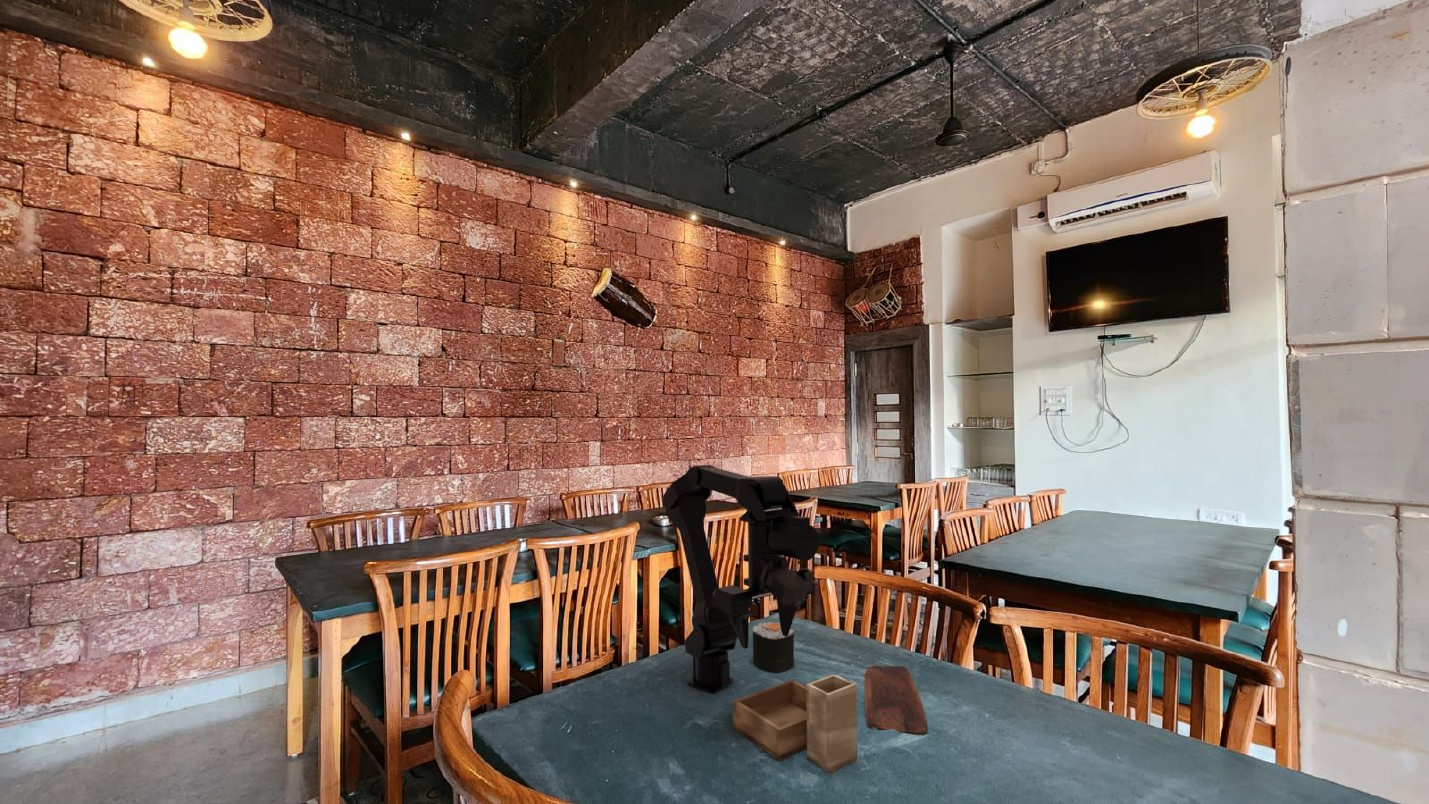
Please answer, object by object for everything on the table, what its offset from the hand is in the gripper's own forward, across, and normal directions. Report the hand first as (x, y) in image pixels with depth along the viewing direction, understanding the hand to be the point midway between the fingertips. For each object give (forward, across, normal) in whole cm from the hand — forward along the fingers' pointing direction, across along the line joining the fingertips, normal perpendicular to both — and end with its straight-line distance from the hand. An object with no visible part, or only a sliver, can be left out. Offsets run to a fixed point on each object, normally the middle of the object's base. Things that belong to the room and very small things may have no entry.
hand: (765, 641), depth 101 cm
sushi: (+13, +16, +16) cm, 26 cm away
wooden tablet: (+14, +24, -8) cm, 29 cm away
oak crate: (+13, 0, -5) cm, 14 cm away
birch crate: (+13, 0, -15) cm, 20 cm away
